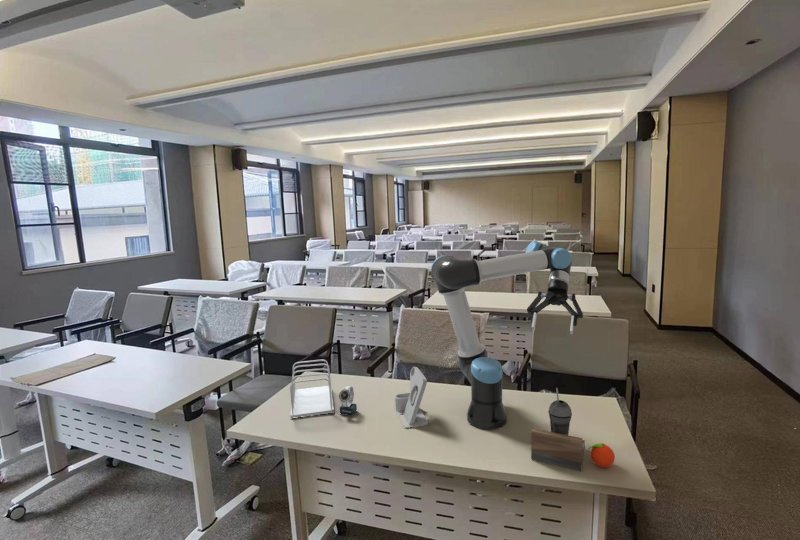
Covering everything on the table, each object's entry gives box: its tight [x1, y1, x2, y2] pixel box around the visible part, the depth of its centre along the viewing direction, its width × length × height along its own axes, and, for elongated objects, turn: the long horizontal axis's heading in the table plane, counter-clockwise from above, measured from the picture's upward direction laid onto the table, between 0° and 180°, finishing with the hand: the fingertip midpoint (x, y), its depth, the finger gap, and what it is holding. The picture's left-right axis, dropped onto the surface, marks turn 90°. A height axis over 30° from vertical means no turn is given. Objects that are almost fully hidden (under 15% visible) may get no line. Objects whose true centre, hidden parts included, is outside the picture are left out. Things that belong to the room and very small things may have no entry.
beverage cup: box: [547, 387, 573, 435], centre depth 141 cm, size 7×7×20 cm
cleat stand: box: [530, 428, 586, 472], centre depth 142 cm, size 14×15×10 cm
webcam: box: [338, 385, 358, 416], centre depth 175 cm, size 6×8×11 cm
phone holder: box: [394, 366, 429, 429], centre depth 170 cm, size 17×10×18 cm, turn 13°
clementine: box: [587, 442, 616, 468], centre depth 135 cm, size 8×7×7 cm
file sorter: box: [289, 358, 335, 419], centre depth 185 cm, size 25×17×16 cm
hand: (551, 330), depth 160 cm, fingers open, 13 cm apart
